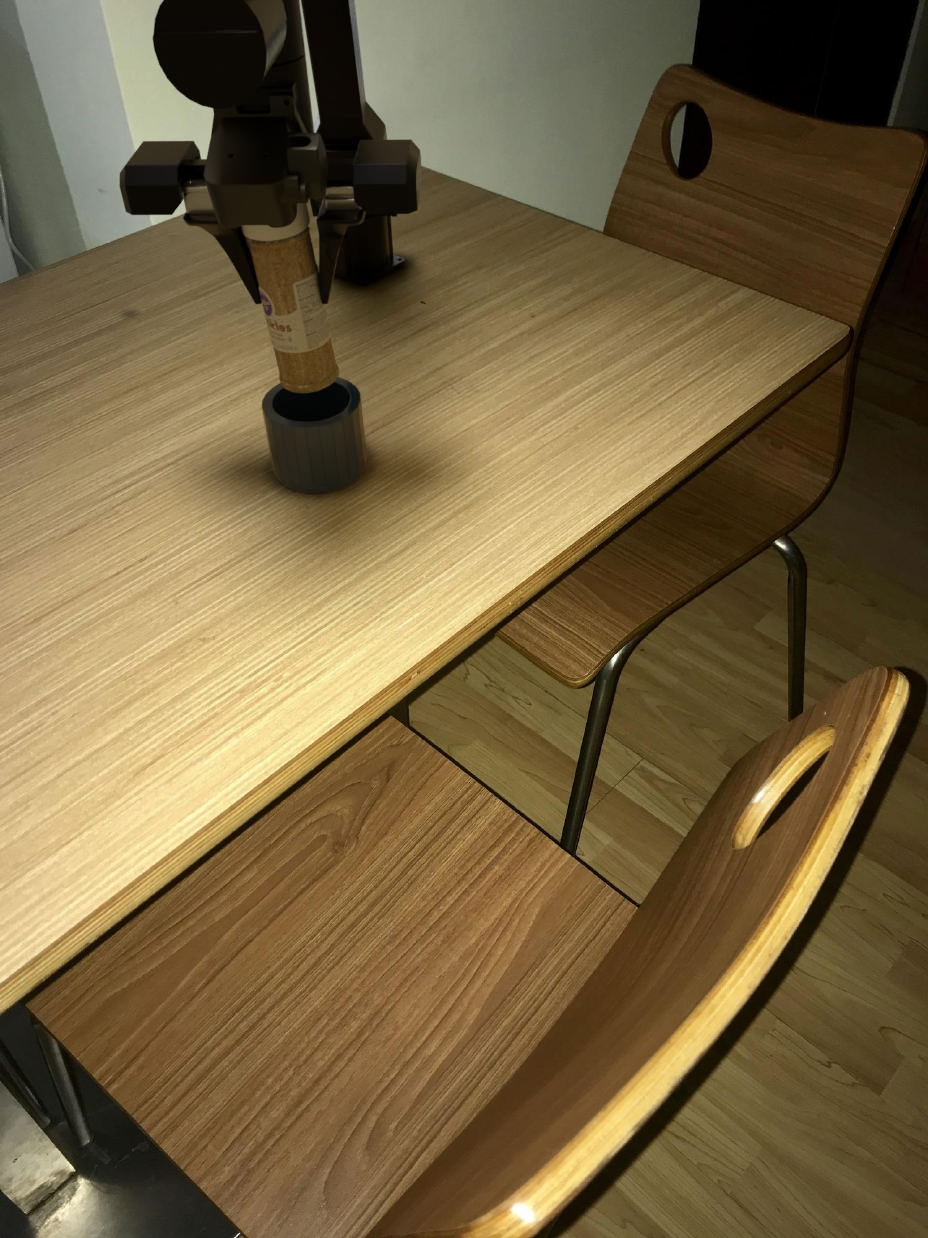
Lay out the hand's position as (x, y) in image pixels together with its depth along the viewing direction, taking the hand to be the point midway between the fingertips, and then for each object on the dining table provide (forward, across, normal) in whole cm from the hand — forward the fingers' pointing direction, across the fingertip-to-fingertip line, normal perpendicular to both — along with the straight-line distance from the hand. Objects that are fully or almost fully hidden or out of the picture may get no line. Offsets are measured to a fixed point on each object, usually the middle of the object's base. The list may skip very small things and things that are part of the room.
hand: (292, 301), depth 70 cm
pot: (+13, +1, -1) cm, 13 cm away
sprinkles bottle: (+6, +1, 0) cm, 6 cm away
